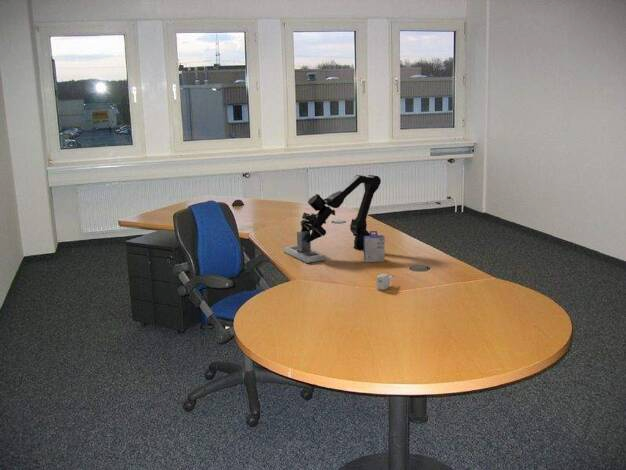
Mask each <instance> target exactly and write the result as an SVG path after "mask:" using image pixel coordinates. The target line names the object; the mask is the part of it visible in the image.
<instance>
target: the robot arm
mask: <svg viewBox="0 0 626 470" xmlns="http://www.w3.org/2000/svg"><path fill="white" fill-rule="evenodd" d="M362 184H363V185H364V186H363V187H364V192H363V196H362V199H361V203H360V206H359V209H358V212H357V216H356V217H355V218H352V219H351V223H350V225H349V227H350V228H349V230H350V232H351V233H352V235H353V237H354V241H353V249H356V250H359V251H364V237H363V236H370V231H368V230H367V226H368V224H367V217H368V214H369V211H370V207H371V204H372V200H373V198H374V194H375V193H376V192H377V190H378V189H379V187H380V185H381V178H380V177H379V176H378V175H374V174H369V175H362V174H361V175H360V174H356V175H355V176H354V177H353V178H352V179H351V180H350V181H349V182H347V183H346V184H345V185H344V186H343V187H341V188H340V189H339V190H338V191H337V192H333V193H332V194H330V195H328V196H327V197H326V198H324V199H323V198H322V197H321V195H320V194H319V193H316V194H314V195H313V196H311V197H310V198H309V199H308V200H307V201H308V202H307V204H308V205H309V206H310V207H311V208H312V209H313V210H314V211H315V212H317V213H312V212H311V213H307V212H303V214H302V217H301V219H302V220H301V221H300V226H301V230H300V232H302V231H307V232H310V236H309V238H308V239H307V241H306V242H307V243H309V242H312V241H315V240H317V239H319V238H322V237H325V235H326V234H327V230H326V229H325V228H324V227H323V225H326V224H327V222H326V221H327V220H328V219H329V217H330V216H331V215H332V216H334V217H335V216H336V210H335V209H339V208H340V207H341V206H342V204H343V203H344V200H345V199H346V197H348V196H349V195H350V194H351V193H352V192H353V191H354V190H355V189H357V188H358V187H359V186H360V185H362Z"/></svg>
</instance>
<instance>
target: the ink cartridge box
mask: <svg viewBox="0 0 626 470" xmlns="http://www.w3.org/2000/svg"><path fill="white" fill-rule="evenodd" d="M369 233H370V236H363V237H364V249H363V260H364V261H363V262H364V263H376V262H378V263H379V262H385V261H386V260H385V259H386V257H385V256H386V255H385V253H386V251H385V250H386V249H385V242H386V239H385V238H386V237H385V236H384V235H383V234H378V230H370V231H369Z"/></svg>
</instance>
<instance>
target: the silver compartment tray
mask: <svg viewBox="0 0 626 470" xmlns="http://www.w3.org/2000/svg"><path fill="white" fill-rule="evenodd" d="M283 249H284V254H286V255H288V256H290V257H292V258H294V259H296V260H298V261H300V262H302V263H304V264H306V265H310V264H316V263H321V262H322V263H323V262H326V254H324V253H321V252H319V251H317V250H314V249H313V248H311V252H306V253H300V252H298V251H297V245H291V246H285V247H284V248H283Z"/></svg>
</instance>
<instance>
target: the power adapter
mask: <svg viewBox="0 0 626 470" xmlns="http://www.w3.org/2000/svg"><path fill="white" fill-rule="evenodd" d="M394 277H395V276H394V275H393V274H392V275H390V274H388V273H383V272H382V273H380V274H378V275H377V276H376V285H375V287H376V289H377V290H378V291H379V290H380V291H384V290H387V289H389V287H390V282H391V281H393V279H394Z"/></svg>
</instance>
